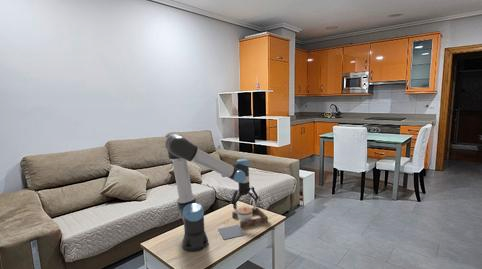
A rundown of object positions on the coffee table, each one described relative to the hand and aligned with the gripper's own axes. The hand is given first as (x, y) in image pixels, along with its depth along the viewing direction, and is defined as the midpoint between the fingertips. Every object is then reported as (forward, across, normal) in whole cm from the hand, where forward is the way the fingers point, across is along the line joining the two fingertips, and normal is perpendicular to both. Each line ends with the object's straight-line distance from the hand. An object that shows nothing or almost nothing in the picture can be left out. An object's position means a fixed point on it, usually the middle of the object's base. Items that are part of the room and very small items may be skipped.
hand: (245, 211), depth 187 cm
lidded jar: (+7, -1, 0) cm, 7 cm away
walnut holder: (+7, +3, 0) cm, 8 cm away
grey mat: (+7, -15, -11) cm, 20 cm away
